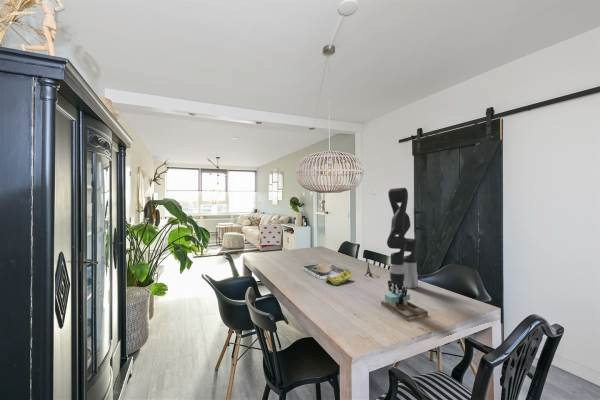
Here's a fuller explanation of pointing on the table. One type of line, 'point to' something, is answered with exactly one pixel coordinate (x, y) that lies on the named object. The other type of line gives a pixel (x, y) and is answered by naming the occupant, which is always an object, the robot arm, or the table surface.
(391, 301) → the panel
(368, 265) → the eiffel tower figurine
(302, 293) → the table surface
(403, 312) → the slot board
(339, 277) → the plastic component
